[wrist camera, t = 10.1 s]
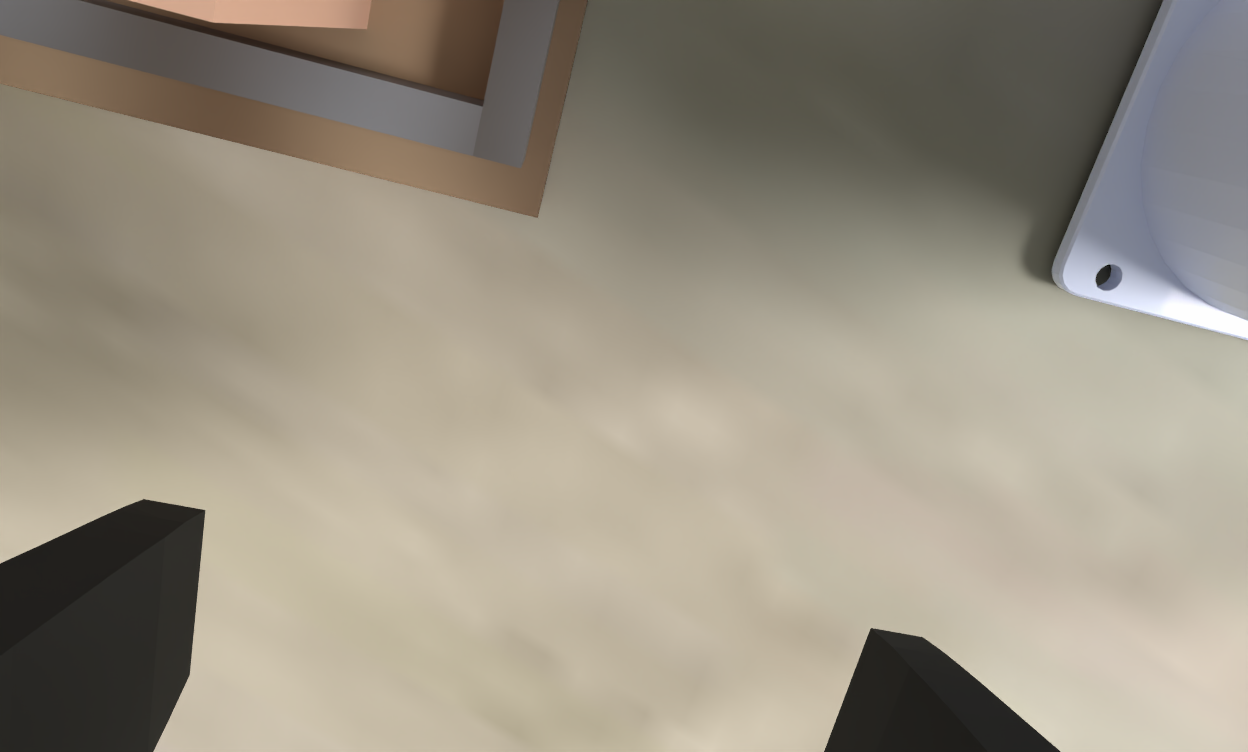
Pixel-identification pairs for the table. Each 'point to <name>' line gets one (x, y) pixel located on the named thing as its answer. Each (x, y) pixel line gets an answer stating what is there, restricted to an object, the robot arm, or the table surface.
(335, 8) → the pinkish brown block
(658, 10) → the table surface
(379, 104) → the brown flat tray
